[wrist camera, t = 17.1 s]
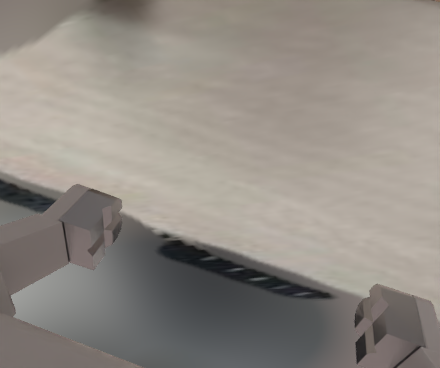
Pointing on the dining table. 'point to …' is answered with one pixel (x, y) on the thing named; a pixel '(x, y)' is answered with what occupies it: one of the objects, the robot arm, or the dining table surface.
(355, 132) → the dining table surface
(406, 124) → the dining table surface
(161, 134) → the dining table surface
